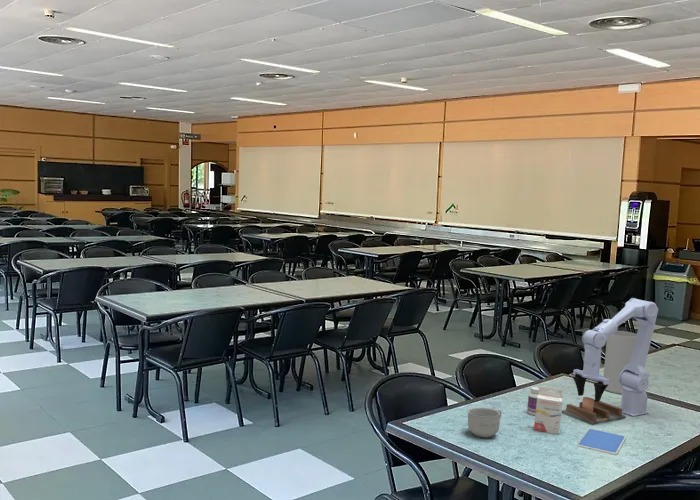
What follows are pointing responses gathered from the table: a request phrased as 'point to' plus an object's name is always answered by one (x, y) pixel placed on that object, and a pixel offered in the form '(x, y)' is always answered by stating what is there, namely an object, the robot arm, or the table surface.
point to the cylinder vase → (617, 358)
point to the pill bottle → (532, 400)
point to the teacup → (484, 421)
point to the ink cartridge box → (548, 410)
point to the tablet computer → (602, 441)
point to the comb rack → (595, 413)
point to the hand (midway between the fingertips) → (588, 398)
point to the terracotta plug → (588, 404)
